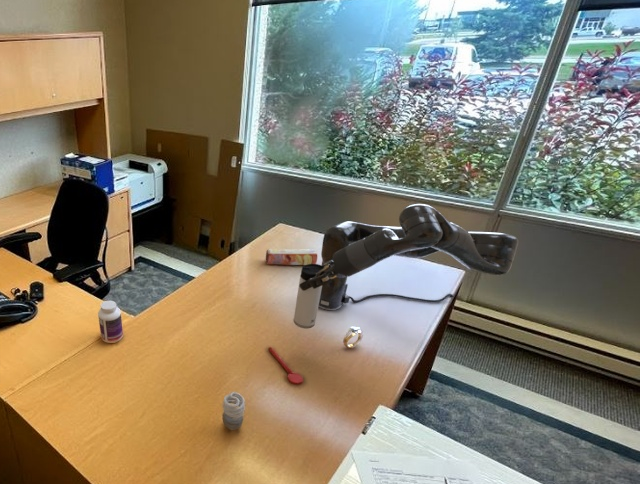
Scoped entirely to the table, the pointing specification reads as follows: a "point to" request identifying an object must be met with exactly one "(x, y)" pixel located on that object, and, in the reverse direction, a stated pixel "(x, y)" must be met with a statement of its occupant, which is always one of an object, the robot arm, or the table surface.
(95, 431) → the table surface
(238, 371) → the table surface
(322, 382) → the table surface
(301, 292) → the travel mug
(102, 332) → the pill bottle
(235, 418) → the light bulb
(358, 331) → the ring
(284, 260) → the snack package
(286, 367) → the spoon
